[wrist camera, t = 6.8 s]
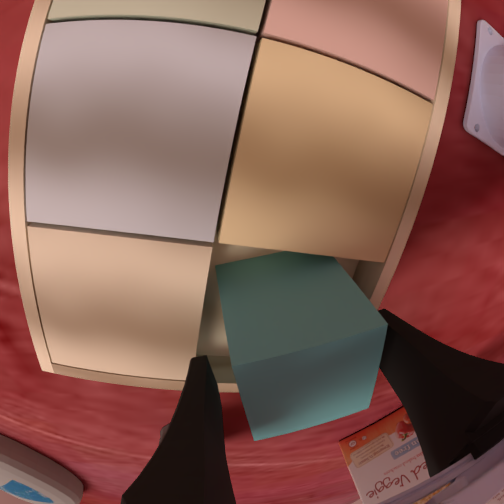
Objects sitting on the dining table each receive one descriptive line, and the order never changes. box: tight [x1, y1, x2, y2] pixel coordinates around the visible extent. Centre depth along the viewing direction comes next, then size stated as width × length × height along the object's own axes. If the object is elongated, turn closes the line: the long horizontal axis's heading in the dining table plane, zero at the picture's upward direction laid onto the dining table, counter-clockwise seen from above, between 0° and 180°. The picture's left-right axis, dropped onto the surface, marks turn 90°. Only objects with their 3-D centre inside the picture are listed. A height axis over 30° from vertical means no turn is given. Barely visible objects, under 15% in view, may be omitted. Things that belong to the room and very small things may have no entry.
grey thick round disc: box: [0, 434, 83, 504], centre depth 21 cm, size 18×18×5 cm
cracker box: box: [339, 407, 504, 504], centre depth 18 cm, size 14×6×21 cm, turn 118°
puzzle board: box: [8, 0, 461, 392], centre depth 11 cm, size 24×16×3 cm
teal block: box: [215, 251, 388, 441], centre depth 13 cm, size 5×5×6 cm
